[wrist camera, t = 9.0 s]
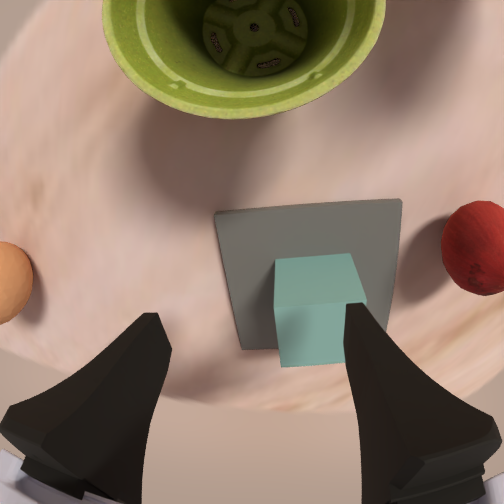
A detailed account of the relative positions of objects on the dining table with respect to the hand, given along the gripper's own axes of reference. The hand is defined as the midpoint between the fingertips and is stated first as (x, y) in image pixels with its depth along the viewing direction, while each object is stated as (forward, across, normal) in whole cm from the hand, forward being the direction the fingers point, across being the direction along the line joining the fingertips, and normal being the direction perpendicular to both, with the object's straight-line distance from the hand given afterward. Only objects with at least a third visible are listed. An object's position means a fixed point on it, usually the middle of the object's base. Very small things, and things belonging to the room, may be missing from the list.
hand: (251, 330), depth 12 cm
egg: (+10, +23, +1) cm, 25 cm away
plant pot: (+10, -1, -12) cm, 16 cm away
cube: (+9, -3, +5) cm, 11 cm away
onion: (+10, -14, +1) cm, 17 cm away
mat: (+10, -3, +5) cm, 11 cm away
